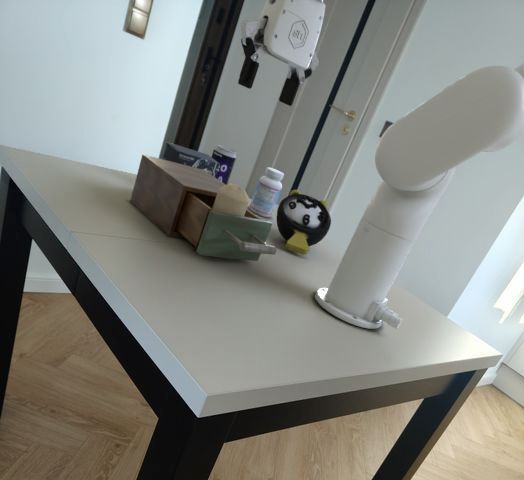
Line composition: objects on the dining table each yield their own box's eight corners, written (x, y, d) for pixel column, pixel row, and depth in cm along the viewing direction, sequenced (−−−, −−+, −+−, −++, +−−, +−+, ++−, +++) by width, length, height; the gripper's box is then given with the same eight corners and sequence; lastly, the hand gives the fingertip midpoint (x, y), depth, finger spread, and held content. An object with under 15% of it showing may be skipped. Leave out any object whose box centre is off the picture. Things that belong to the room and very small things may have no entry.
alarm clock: (257, 252, 113) (262, 183, 112) (299, 258, 124) (304, 195, 122) (297, 253, 105) (303, 178, 104) (338, 259, 116) (345, 192, 114)
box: (163, 199, 108) (177, 150, 103) (152, 188, 112) (165, 140, 108) (206, 208, 114) (221, 163, 110) (193, 198, 119) (207, 153, 114)
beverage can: (197, 190, 127) (212, 141, 122) (217, 195, 130) (232, 149, 125) (204, 197, 123) (220, 148, 118) (224, 203, 126) (241, 155, 121)
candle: (238, 248, 90) (259, 194, 86) (217, 247, 86) (237, 190, 82) (219, 235, 93) (237, 182, 89) (197, 233, 89) (215, 177, 84)
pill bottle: (257, 208, 135) (272, 167, 130) (274, 218, 133) (291, 176, 128) (244, 207, 130) (259, 164, 125) (262, 217, 128) (278, 174, 123)
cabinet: (231, 244, 98) (247, 199, 94) (168, 236, 88) (184, 185, 84) (190, 212, 107) (204, 169, 103) (130, 201, 97) (142, 154, 93)
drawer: (278, 277, 88) (294, 239, 85) (220, 273, 79) (236, 229, 76) (215, 227, 100) (227, 192, 97) (158, 218, 91) (170, 179, 88)
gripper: (280, -42, 72) (239, 84, 80) (353, 9, 84) (312, 115, 91) (250, -47, 77) (214, 73, 84) (324, 2, 88) (286, 104, 96)
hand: (265, 95), depth 88 cm, fingers open, 9 cm apart
